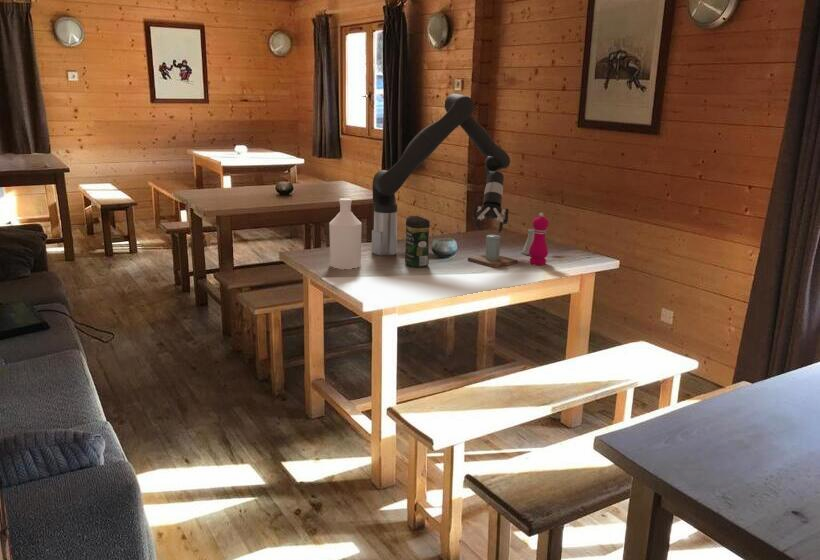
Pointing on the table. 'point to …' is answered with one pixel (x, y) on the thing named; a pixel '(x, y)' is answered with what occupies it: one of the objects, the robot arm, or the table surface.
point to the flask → (528, 242)
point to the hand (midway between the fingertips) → (488, 230)
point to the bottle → (345, 238)
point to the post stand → (492, 261)
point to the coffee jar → (417, 241)
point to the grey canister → (492, 247)
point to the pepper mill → (539, 241)
